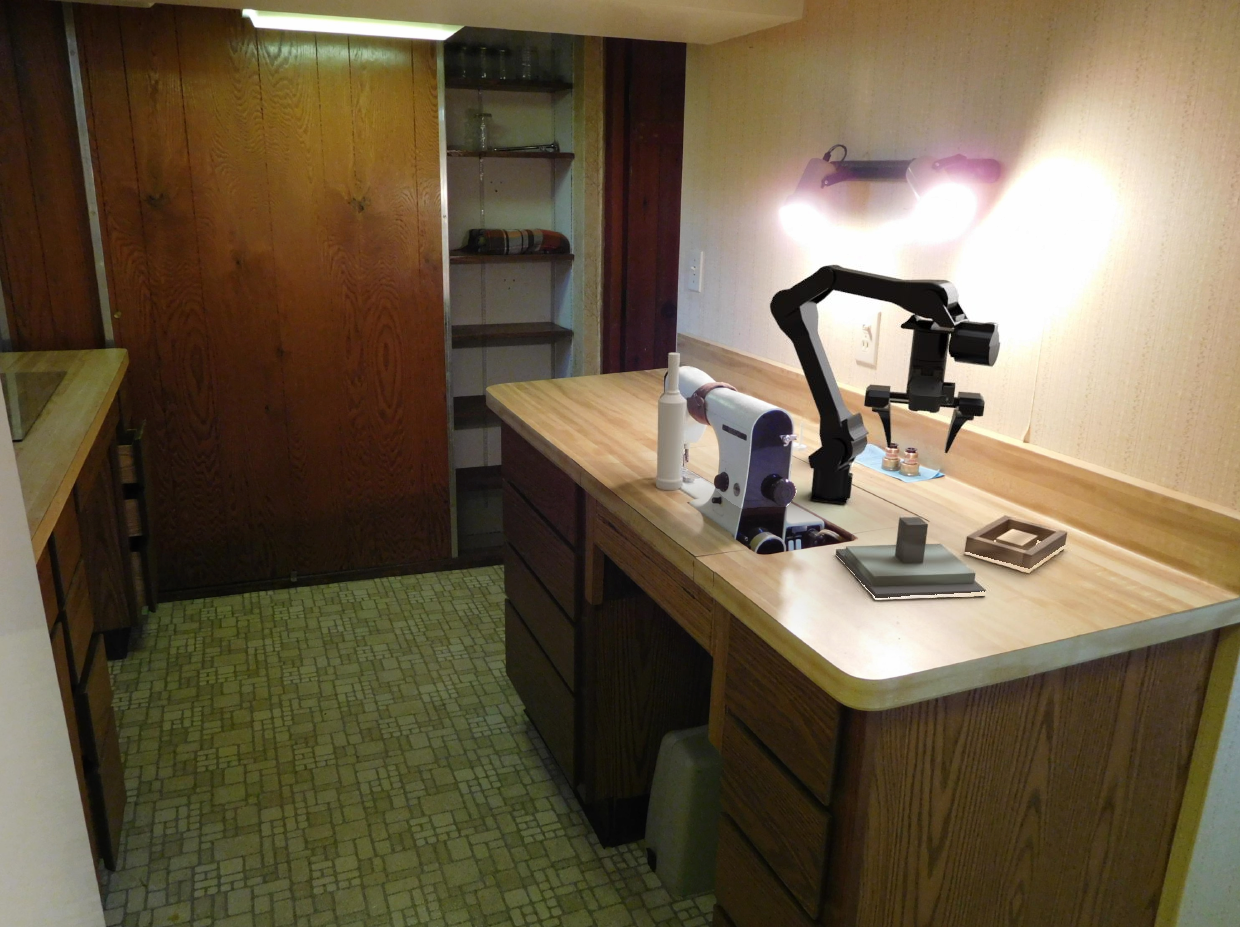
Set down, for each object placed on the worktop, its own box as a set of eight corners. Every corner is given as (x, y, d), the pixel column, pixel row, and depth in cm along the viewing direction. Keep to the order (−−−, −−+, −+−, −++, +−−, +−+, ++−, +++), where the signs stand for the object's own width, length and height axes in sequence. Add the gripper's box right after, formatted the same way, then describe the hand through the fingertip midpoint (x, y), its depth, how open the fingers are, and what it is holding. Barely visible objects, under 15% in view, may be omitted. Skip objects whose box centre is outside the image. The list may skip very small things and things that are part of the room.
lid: (845, 555, 140) (849, 508, 138) (939, 552, 142) (945, 506, 139) (873, 586, 129) (878, 536, 127) (974, 582, 131) (981, 533, 129)
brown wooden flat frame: (964, 554, 144) (966, 536, 143) (1002, 532, 153) (1005, 515, 152) (1028, 573, 137) (1031, 555, 136) (1064, 549, 147) (1067, 531, 146)
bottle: (650, 487, 171) (654, 354, 164) (662, 480, 176) (667, 350, 168) (675, 492, 169) (681, 357, 162) (687, 484, 173) (693, 353, 166)
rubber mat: (835, 555, 142) (836, 549, 142) (934, 552, 144) (935, 546, 144) (875, 600, 127) (876, 593, 127) (985, 596, 129) (986, 590, 129)
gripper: (867, 362, 147) (857, 457, 151) (992, 372, 142) (979, 469, 146) (870, 351, 157) (861, 439, 161) (987, 359, 152) (974, 450, 156)
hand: (917, 449), depth 156 cm, fingers open, 9 cm apart
